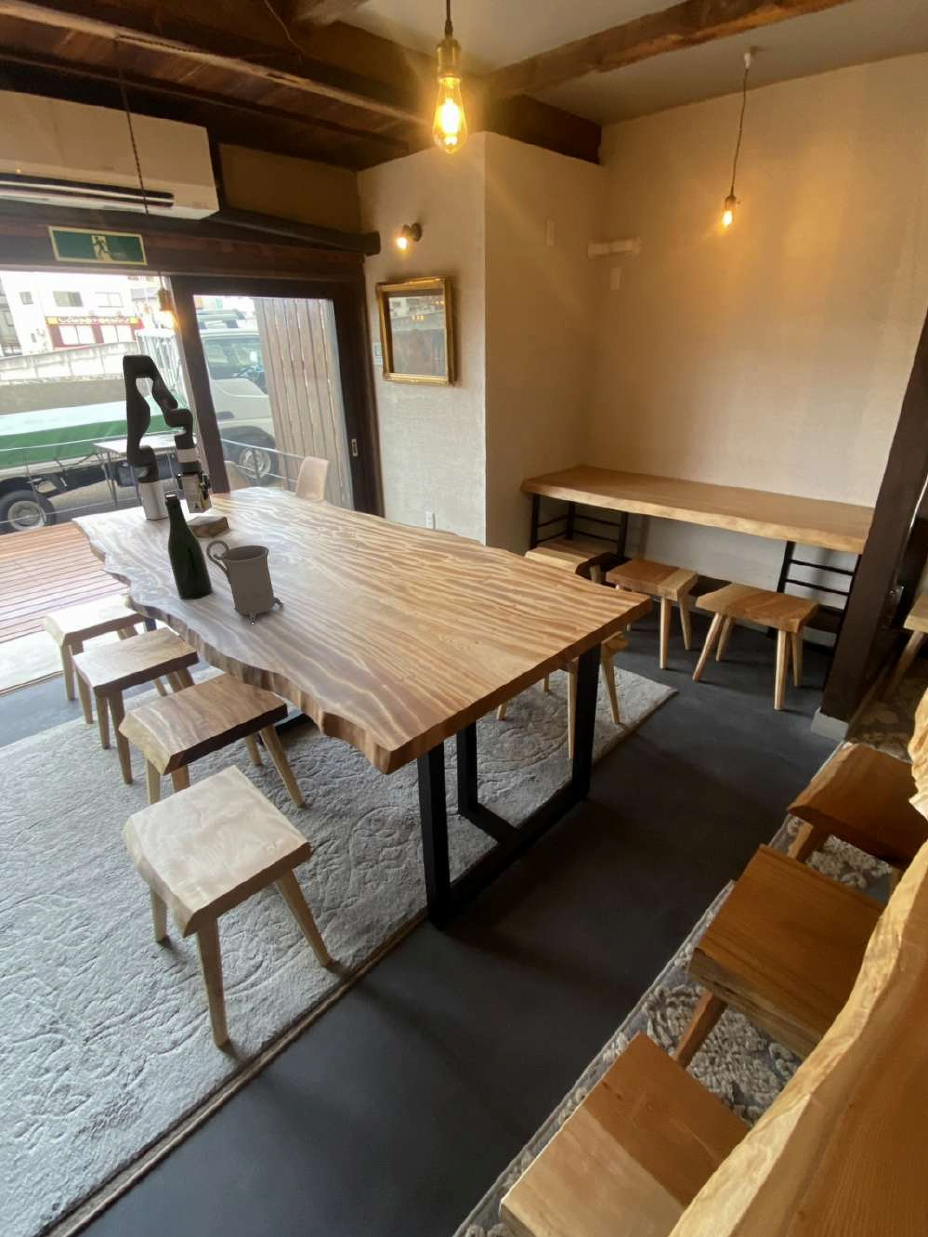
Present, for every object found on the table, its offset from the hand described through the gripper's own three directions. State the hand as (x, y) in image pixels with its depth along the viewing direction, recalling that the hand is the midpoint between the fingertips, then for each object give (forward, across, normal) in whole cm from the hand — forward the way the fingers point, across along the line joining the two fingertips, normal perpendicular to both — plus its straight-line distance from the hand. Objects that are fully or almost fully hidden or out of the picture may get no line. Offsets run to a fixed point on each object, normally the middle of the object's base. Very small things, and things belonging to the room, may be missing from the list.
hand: (198, 499), depth 251 cm
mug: (+15, -59, +78) cm, 99 cm away
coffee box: (+5, 0, 0) cm, 5 cm away
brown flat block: (+15, 0, 0) cm, 15 cm away
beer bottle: (+15, -32, +64) cm, 73 cm away
